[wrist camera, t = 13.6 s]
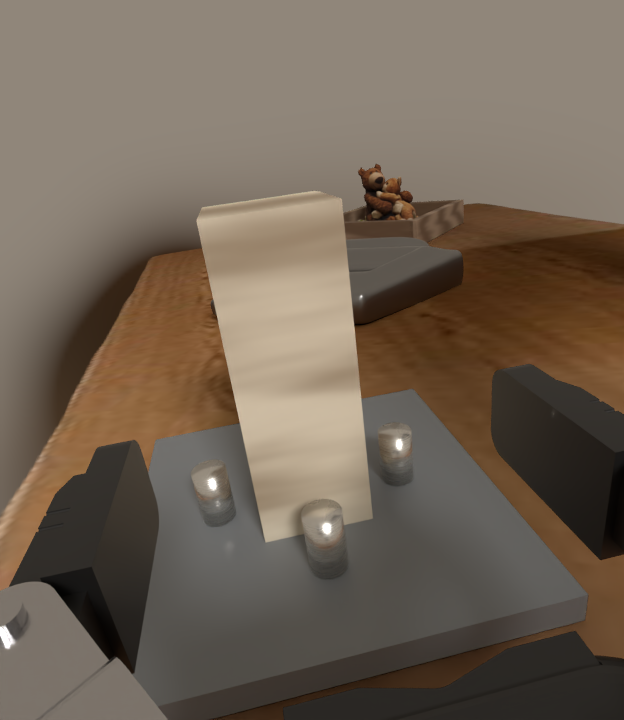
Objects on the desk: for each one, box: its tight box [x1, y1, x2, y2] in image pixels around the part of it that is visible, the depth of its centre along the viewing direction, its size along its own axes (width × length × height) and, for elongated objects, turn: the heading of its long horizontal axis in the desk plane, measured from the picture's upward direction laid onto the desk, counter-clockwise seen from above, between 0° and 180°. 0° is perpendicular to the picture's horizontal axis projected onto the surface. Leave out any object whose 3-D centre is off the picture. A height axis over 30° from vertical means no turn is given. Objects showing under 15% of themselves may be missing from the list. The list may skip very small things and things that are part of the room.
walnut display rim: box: [343, 200, 463, 243], centre depth 86 cm, size 20×19×4 cm
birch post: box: [197, 191, 373, 543], centre depth 20 cm, size 5×5×13 cm
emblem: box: [211, 237, 463, 324], centre depth 57 cm, size 28×5×28 cm
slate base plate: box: [132, 389, 588, 720], centre depth 22 cm, size 16×16×4 cm
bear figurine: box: [358, 164, 418, 221], centre depth 86 cm, size 14×15×12 cm
